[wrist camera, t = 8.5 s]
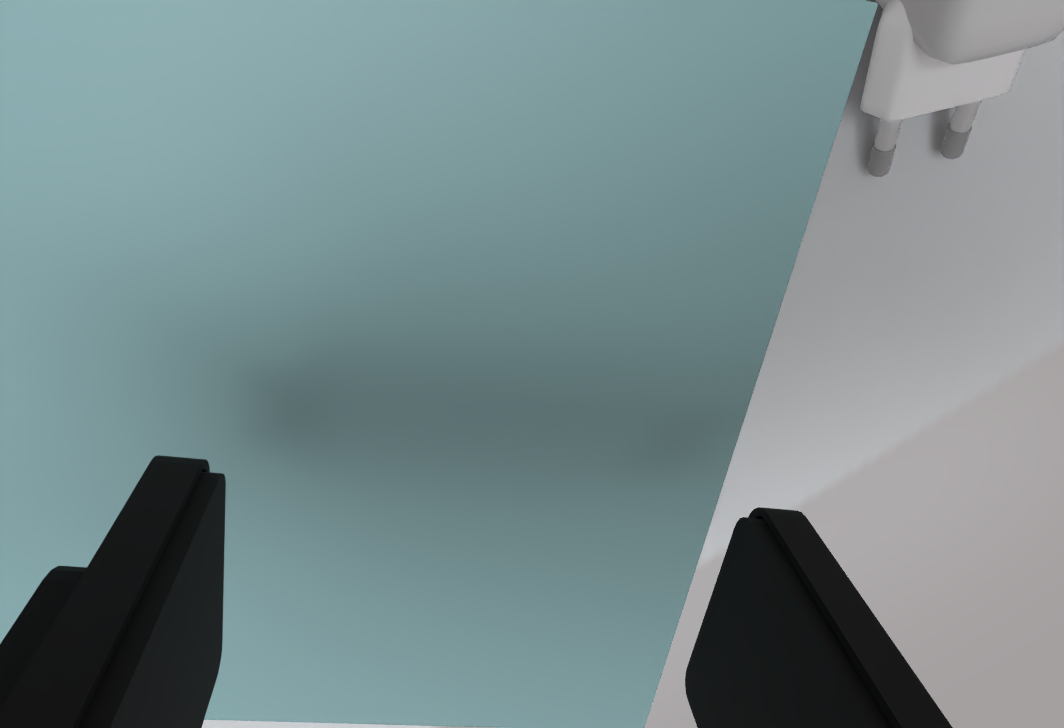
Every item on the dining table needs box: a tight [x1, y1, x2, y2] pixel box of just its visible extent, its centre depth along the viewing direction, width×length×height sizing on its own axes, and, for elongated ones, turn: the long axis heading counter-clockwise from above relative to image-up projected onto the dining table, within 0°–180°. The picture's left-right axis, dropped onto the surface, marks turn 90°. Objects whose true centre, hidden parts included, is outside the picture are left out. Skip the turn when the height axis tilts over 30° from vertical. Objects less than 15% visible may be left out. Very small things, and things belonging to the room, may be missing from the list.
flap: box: [0, 0, 878, 728], centre depth 12 cm, size 18×16×6 cm
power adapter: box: [860, 0, 1064, 177], centre depth 20 cm, size 10×4×5 cm, turn 12°
